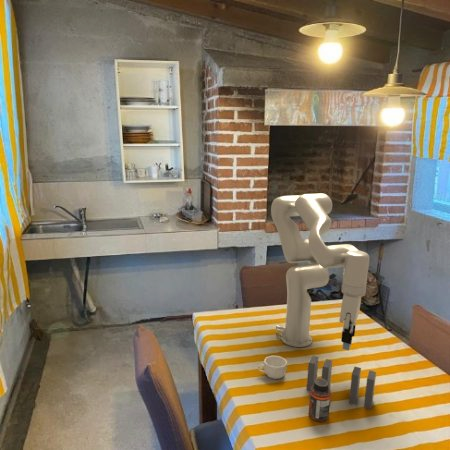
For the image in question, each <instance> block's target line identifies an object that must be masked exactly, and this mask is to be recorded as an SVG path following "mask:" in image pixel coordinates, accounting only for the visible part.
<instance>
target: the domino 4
mask: <svg viewBox="0 0 450 450" xmlns="http://www.w3.org/2000/svg"><path fill="white" fill-rule="evenodd" d="M361 371H362V367H359V366H354V367H353V370H352V373H351V380H350V388H349V397H348V399H349V400H348V404H351V405H355V406H356V405H357V402H358V399H359V391H360V381H361V373H362V372H361Z"/></svg>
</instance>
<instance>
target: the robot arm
mask: <svg viewBox="0 0 450 450" xmlns="http://www.w3.org/2000/svg"><path fill="white" fill-rule="evenodd" d="M332 209H333V201H332V199H331V197H330V196H329V195H327V194H326V193H304V194H299V195H297V194H295V195H282V196H281V195H280V196H278V197H276V198H274V199H273V201H272V203H271V207H270V215H271V219H272V221H273V224H274V226H275V228H276V230H277V232H278V236H279V241H280V244H281V245H280V246H281V248H282V252H283V256H284V259H285V261H286V262H287V263H289V264H297V263H306V262H307V263H308V264H300V265H299V264H298V265H294V266H291V267H290V268H288V270H287V271H286V273H285V280H286V289H287V290H286V292H287V294H286V295H287V296H286V297H287V298H286V310H285V311H286V312H285V313H286V314H285V325H284V326H282V325H279V324H276V325H275V330H276V333H280V334H281V336H280V340H281V341H282V342H283V343H284V344H285V345H288V346H290V347H295V348H305V347H308V346H310V345H311V344H312V343H313V337H312V336H311V335H310V324H311V323H310V322H311V311H312V309H311V308H312V298H311V296H310V294H309V292H308V290H310V289H315V288H321V287H325V286H326V285H327V284H328V283H329V281H330V273H329V272H330V271H329V269H334V268H343V272H342V273H343V274H342V282H341V293H342V294H343V296H342V301H341V308H340V313H339V320H338V321H339V323H343V326H342V332H341V341H340V342H342V343H343V342H344V343H348V344H351V345H352V343H351V342H353V337H355V332H356V322H357V320H358V318H359V317H358V316H359V314H360V308H361V304H362V303H361V301H362V297H364V296H366V292H367V291H366V290H367V283H368V275H369V268H370V267H369V266H370V255H369V254H368V253H367V252H365V251H363V250H360V249H358V248H357V247H356V246H354V245H352V244H350V243H348V244H347V243H344V244H343V243H342V244H333V245H326V244H325V242H324V240H323V239H322V238H321V236H323V235H324V234H325V233H327V232H328V231H329V230H330V228H331V227H332V219H331V218H330V216H329V215H328V214H330V213H331V212H332ZM291 217H300V218H301V220H302V221H303V223H304V224H305V226H306V228H307V229H308V230H309V234H308V238H305V237H304V238H303V237H302V234H301V232H300V228H299V226H298V225H297V223H296V222H295V221H294V220H293V219H292V218H291ZM350 322H352V323H350ZM349 325H350V326H351V327H349ZM353 325H354V326H353ZM352 327H353V333H352Z"/></svg>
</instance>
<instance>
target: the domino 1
mask: <svg viewBox="0 0 450 450" xmlns="http://www.w3.org/2000/svg"><path fill="white" fill-rule="evenodd" d="M319 357H320V356H317V355H312V356H311V358H310V359H309V362H308V367H307V378H306V379H307V380H306V391H307V392H310V389H311V387H312V386H313V385H314V381H315V379H318V371H319V369H318V368H319Z"/></svg>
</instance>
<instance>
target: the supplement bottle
mask: <svg viewBox="0 0 450 450" xmlns="http://www.w3.org/2000/svg"><path fill="white" fill-rule="evenodd" d="M331 396H332V390H331V389H329V387H328V382H327V381H326V380H325V379H322V377H321V378H320V377H319V378H318V377H317V379H315V381H314V385H313V386H312V387H311V389H310V391H309V402H308V415H309V418H311V420H313V421H316V422H319V423H321V422H325V421H327V420H329V416H330V411H331V410H330V407H331V398H332V397H331Z"/></svg>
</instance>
